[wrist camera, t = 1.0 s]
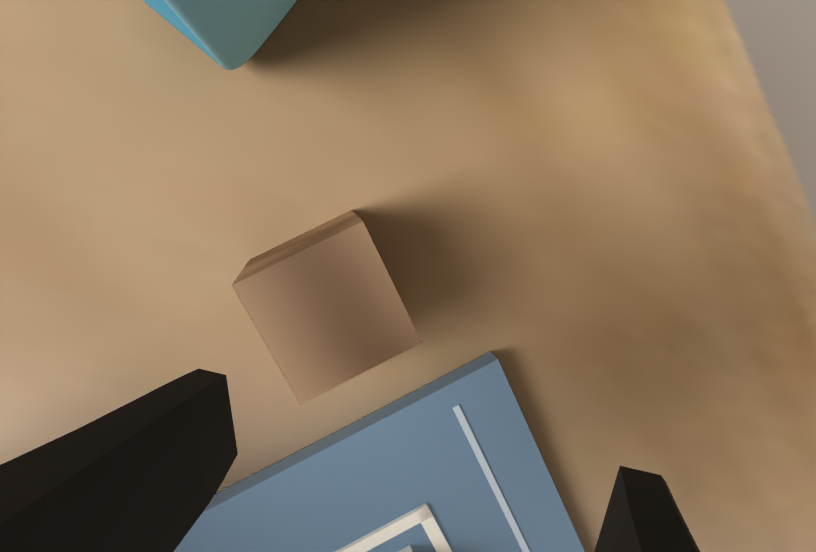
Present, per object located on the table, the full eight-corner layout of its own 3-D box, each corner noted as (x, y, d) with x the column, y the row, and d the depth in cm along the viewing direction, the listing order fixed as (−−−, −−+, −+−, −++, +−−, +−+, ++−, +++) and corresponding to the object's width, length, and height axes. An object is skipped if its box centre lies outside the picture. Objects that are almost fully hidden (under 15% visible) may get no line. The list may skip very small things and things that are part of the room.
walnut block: (302, 354, 23) (299, 404, 18) (249, 259, 21) (231, 285, 17) (398, 306, 23) (422, 342, 18) (351, 210, 22) (363, 221, 17)
